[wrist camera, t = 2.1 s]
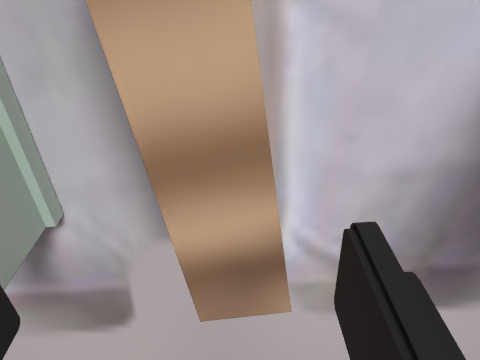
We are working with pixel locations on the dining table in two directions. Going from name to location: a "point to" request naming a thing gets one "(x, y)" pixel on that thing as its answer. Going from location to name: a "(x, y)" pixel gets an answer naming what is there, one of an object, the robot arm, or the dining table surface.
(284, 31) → the dining table surface
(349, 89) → the dining table surface
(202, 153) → the wooden block
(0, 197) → the shelf rack
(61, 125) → the dining table surface
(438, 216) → the dining table surface
